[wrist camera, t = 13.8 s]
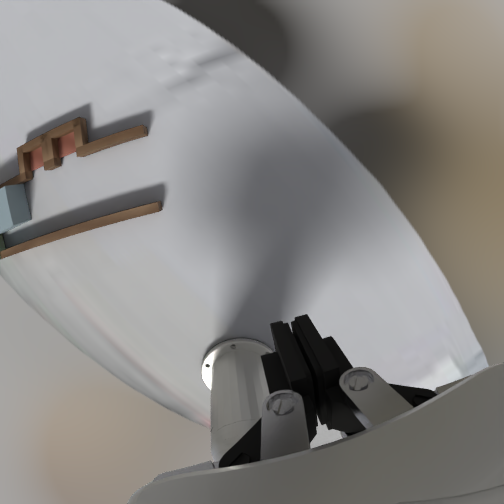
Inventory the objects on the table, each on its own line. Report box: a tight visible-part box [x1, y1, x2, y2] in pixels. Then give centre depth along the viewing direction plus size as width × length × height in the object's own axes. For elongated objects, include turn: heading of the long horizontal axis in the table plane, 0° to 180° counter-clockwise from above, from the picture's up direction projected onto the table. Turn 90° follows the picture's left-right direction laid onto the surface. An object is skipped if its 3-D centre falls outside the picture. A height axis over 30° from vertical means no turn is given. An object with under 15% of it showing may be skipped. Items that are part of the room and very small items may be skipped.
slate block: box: [0, 184, 32, 234], centre depth 30 cm, size 6×8×5 cm
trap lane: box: [0, 117, 163, 259], centre depth 30 cm, size 16×32×5 cm, turn 100°
